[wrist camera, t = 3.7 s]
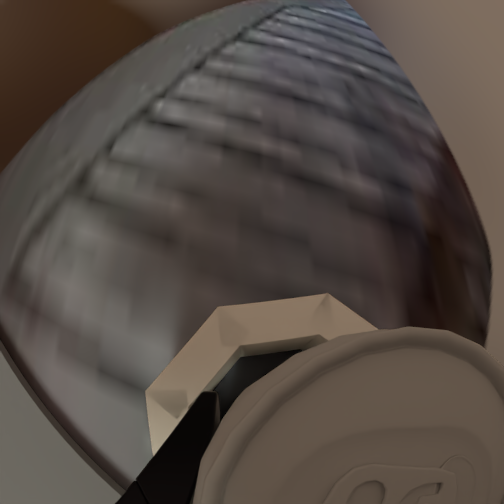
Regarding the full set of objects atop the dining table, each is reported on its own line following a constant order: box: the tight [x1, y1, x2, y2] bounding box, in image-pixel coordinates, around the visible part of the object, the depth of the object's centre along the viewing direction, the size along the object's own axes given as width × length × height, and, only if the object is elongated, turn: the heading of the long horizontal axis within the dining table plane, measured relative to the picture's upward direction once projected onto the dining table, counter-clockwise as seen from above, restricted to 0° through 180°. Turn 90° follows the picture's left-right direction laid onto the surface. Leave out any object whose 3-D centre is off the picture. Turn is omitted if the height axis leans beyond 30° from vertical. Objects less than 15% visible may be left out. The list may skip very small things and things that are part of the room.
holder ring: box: [145, 293, 378, 456], centre depth 11 cm, size 10×10×4 cm
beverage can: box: [193, 326, 504, 504], centre depth 8 cm, size 5×5×12 cm
